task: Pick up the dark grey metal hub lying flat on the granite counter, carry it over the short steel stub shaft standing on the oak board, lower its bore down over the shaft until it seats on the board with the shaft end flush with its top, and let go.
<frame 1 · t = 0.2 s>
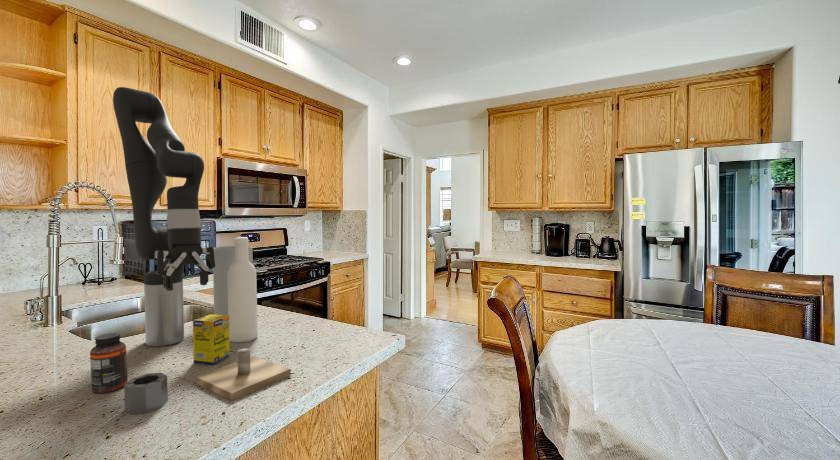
hand: (187, 287, 100), 17 cm above the countertop, tool pointing down, fingers open, 8 cm apart
supplement bottle: (110, 388, 80), on the countertop
cylinder vase: (234, 318, 134), on the countertop
hub: (147, 405, 73), on the countertop
shaft stand: (244, 379, 84), on the countertop
bottle: (243, 338, 112), on the countertop
supplement box: (212, 360, 95), on the countertop
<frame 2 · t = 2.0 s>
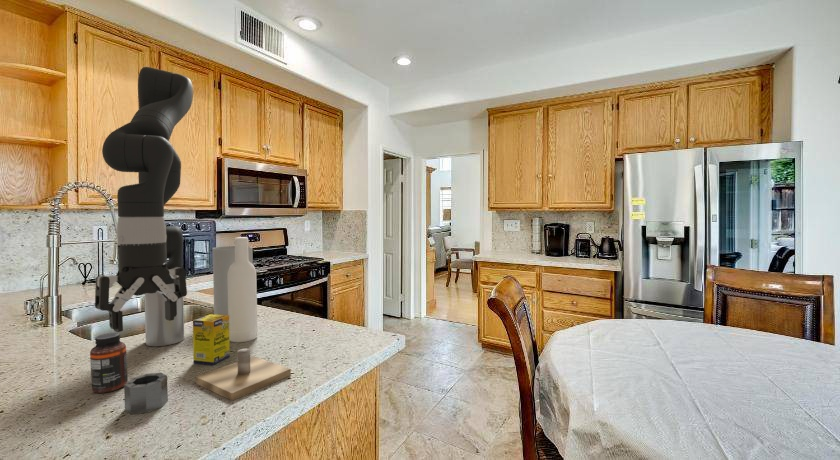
hand: (145, 325, 72), 16 cm above the countertop, tool pointing down, fingers open, 8 cm apart
nothing on the countertop moved.
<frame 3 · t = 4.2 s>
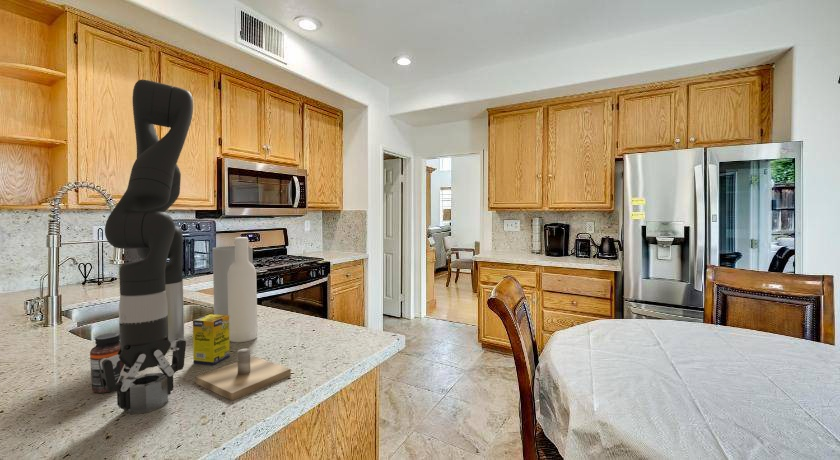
hand: (146, 401, 73), 1 cm above the countertop, tool pointing down, fingers closed on hub, 6 cm apart
hub: (147, 405, 73), on the countertop, touching gripper
everything else where it was.
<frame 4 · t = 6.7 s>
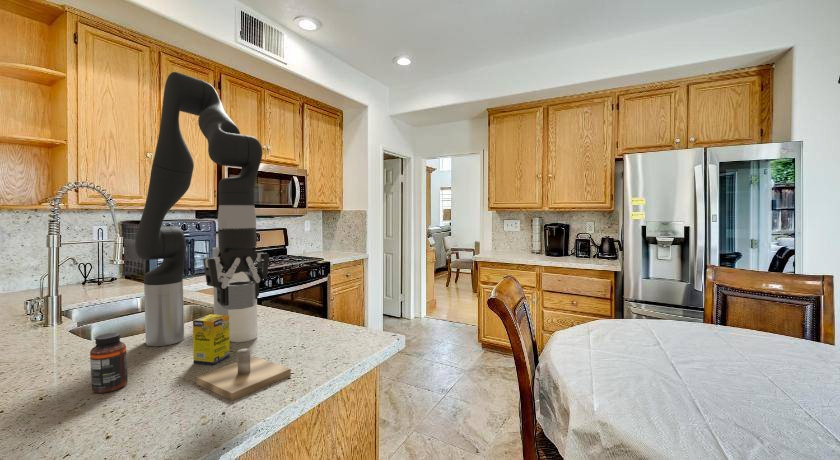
hand: (239, 301, 83), 18 cm above the countertop, tool pointing down, fingers closed on hub, 6 cm apart
hub: (239, 305, 83), point 17 cm above the countertop, touching gripper
everything else where it was.
when the fingers open (4 cm above the countertop, at t = 9.5 s): hub drops 2 cm, resting on shaft stand.
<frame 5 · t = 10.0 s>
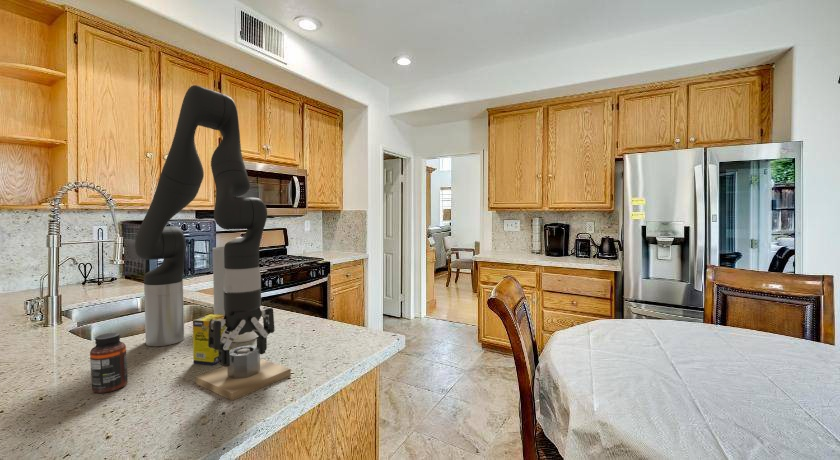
hand: (243, 359, 84), 4 cm above the countertop, tool pointing down, fingers open, 8 cm apart
hub: (244, 372, 84), point 1 cm above the countertop, touching shaft stand
everything else where it was.
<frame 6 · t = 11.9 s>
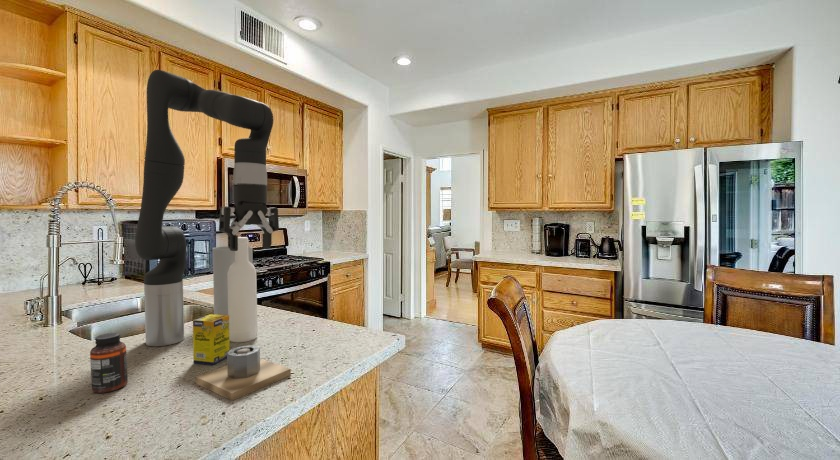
hand: (250, 249, 92), 28 cm above the countertop, tool pointing down, fingers open, 8 cm apart
nothing on the countertop moved.
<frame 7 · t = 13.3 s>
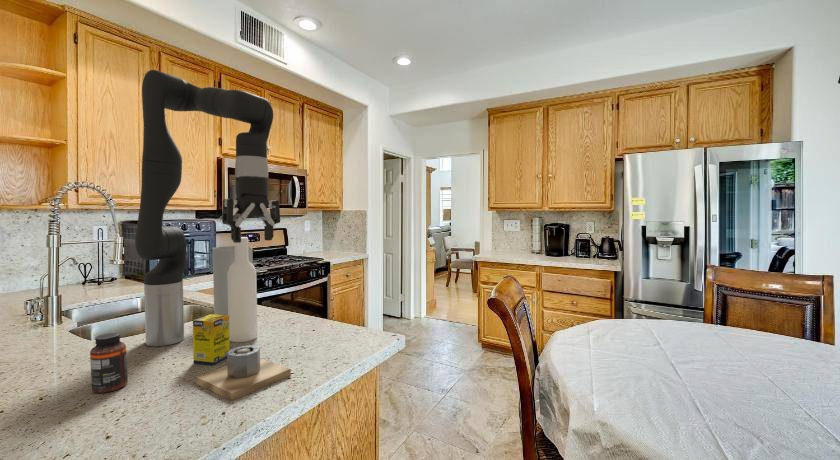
hand: (253, 241, 94), 30 cm above the countertop, tool pointing down, fingers open, 8 cm apart
nothing on the countertop moved.
at the end: hub 0.0 cm off-centre on the shaft stand, point 1.5 cm above the shaft stand's base; hub tilted 0°; the gripper is holding nothing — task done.
